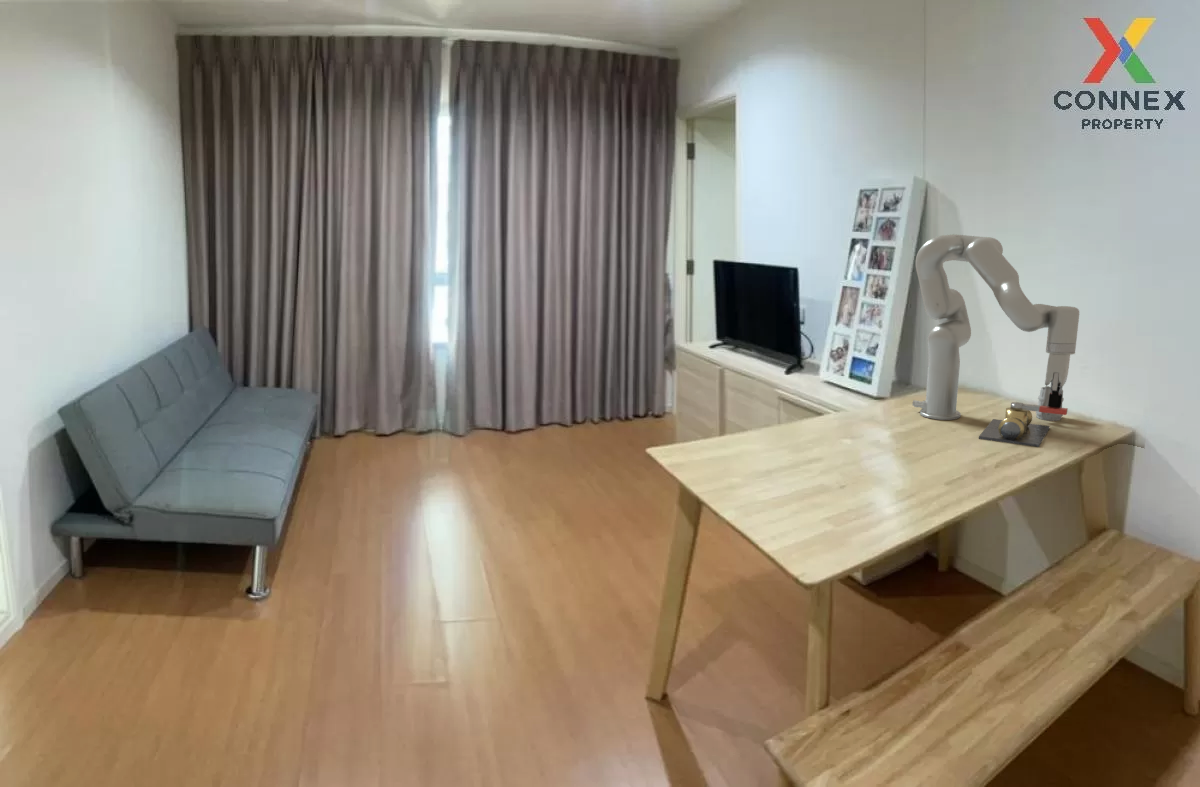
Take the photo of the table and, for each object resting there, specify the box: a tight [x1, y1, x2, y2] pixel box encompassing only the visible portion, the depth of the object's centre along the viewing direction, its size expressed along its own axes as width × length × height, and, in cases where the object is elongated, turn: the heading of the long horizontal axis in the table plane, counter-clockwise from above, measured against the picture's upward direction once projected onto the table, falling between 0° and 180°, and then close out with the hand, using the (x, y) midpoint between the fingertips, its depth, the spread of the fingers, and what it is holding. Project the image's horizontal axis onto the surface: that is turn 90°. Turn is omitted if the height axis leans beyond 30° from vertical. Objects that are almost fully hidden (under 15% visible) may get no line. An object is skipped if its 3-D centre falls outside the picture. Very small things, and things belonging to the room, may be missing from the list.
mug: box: [1035, 385, 1064, 422], centre depth 241 cm, size 8×12×12 cm, turn 136°
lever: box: [1010, 401, 1068, 416], centre depth 224 cm, size 15×4×2 cm, turn 53°
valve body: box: [978, 406, 1050, 448], centre depth 228 cm, size 16×22×8 cm
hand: (1054, 406), depth 226 cm, fingers closed
